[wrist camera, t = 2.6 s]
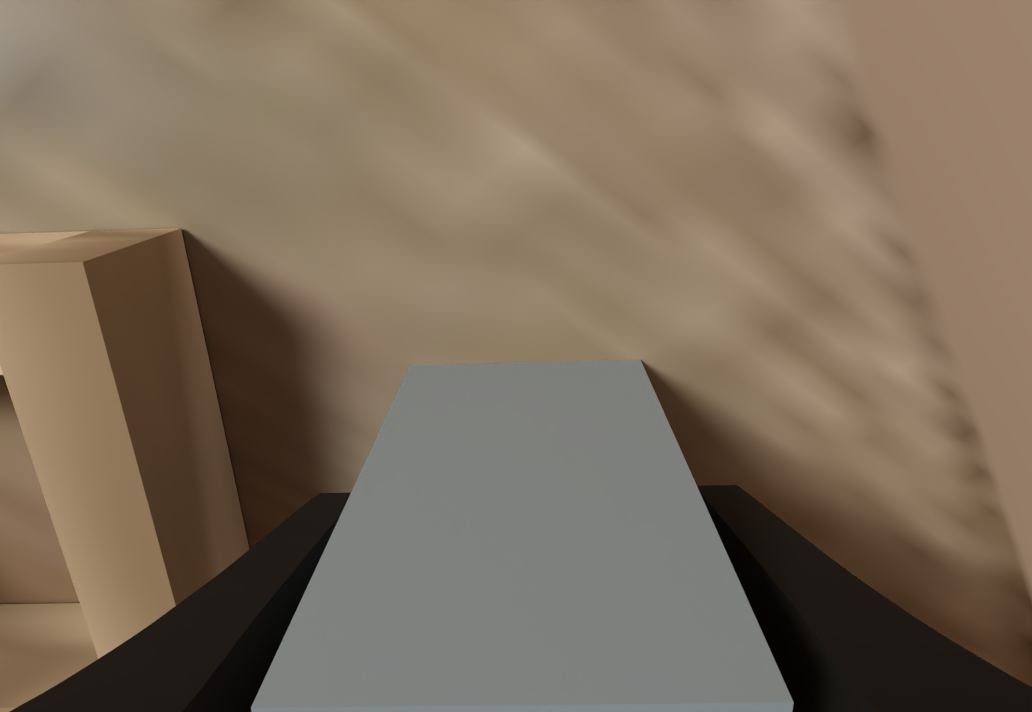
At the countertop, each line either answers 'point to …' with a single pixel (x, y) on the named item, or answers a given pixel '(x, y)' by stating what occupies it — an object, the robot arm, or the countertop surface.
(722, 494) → the robot arm
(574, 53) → the countertop surface
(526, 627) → the slate square peg
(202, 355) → the birch well block
